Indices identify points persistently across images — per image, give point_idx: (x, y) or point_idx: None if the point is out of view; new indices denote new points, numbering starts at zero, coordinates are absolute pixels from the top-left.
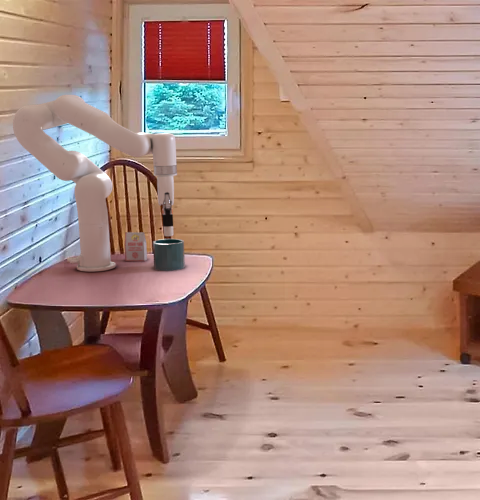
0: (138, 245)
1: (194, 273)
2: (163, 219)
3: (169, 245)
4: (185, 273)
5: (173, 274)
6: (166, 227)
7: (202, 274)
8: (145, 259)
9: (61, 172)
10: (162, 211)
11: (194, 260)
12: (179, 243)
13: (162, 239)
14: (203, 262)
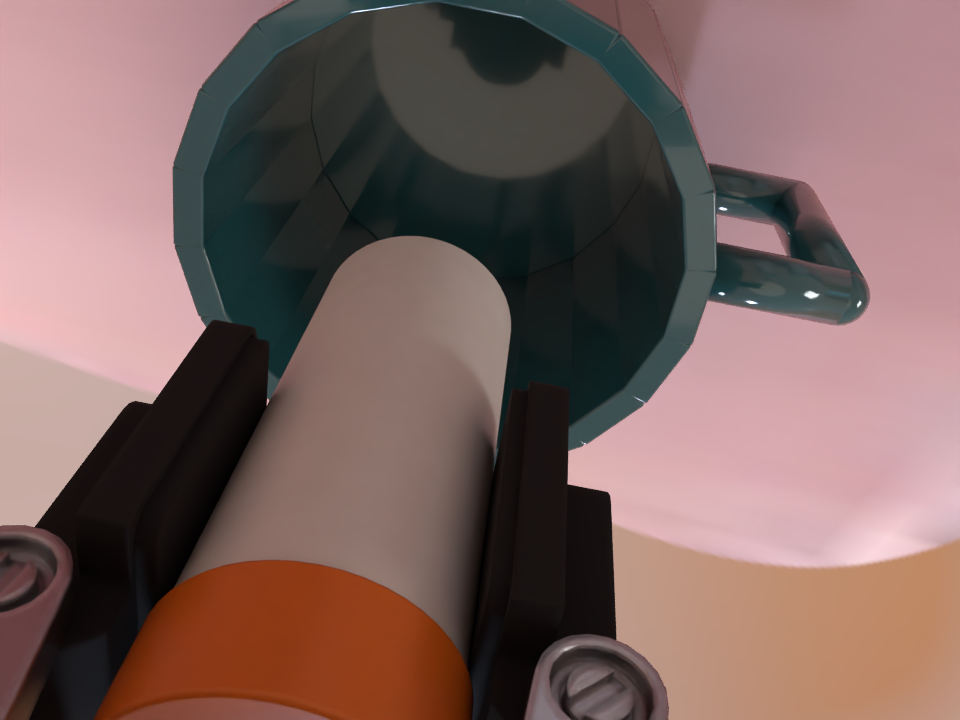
0: None
1: (97, 282)
2: (140, 426)
3: (178, 205)
4: (115, 202)
5: (90, 69)
6: (288, 366)
7: (38, 334)
8: None
9: None
10: (260, 625)
11: (725, 440)
12: None
13: (689, 212)
14: (579, 482)
